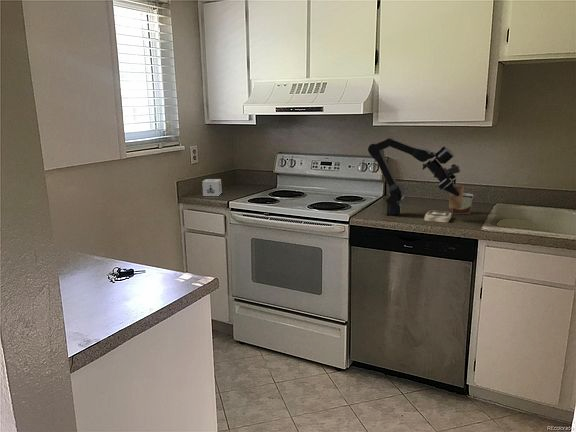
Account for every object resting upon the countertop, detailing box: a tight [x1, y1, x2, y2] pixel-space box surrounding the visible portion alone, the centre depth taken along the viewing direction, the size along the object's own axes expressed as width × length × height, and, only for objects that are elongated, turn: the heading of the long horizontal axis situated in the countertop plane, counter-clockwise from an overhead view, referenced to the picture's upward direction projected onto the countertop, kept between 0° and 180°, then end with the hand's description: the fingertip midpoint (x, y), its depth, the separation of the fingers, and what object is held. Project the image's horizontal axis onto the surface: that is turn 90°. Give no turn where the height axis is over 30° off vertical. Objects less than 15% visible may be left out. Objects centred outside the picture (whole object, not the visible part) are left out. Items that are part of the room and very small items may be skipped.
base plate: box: [424, 209, 452, 223], centre depth 235 cm, size 11×11×3 cm
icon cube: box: [201, 178, 223, 197], centre depth 304 cm, size 10×10×10 cm
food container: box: [450, 192, 475, 215], centre depth 247 cm, size 12×6×10 cm, turn 92°
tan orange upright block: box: [448, 183, 465, 209], centre depth 229 cm, size 6×6×11 cm
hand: (459, 194), depth 228 cm, fingers closed on tan orange upright block, 5 cm apart
